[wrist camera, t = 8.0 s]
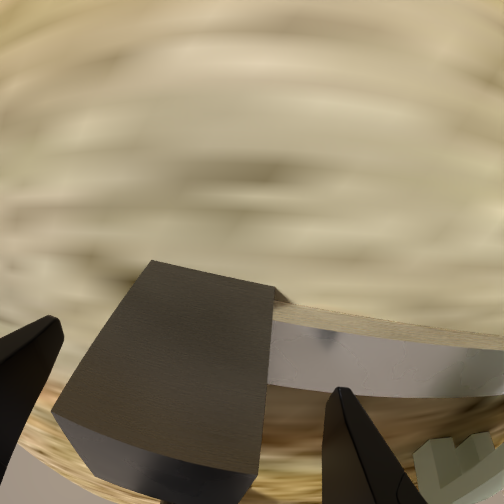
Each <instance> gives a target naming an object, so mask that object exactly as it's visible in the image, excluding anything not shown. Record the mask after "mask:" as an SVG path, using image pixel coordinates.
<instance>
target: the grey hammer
mask: <svg viewBox="0 0 504 504" xmlns="http://www.w3.org/2000/svg"><path fill="white" fill-rule="evenodd" d="M274 292H275V287H273V286H268V285H263V284H259V283H254V282H249V281H244V280H239V279H235V278H230V277H225V276H221V275H216V274H212V273H207V272H202V271H198V270H193V269H189V268H185V267H180V266H176V265H171V264H167V263H163V262H158V261H154V260H151V261H150V263H149V264H148V265H147V267H146V268H145V269H144V271H143V272H142V273H141V275H140V276H139V277H138V279H137V280H136V282H135V283H134V284H133V286H132V287H131V288H130V290H129V291H128V293H127V294H126V295H125V297H124V298H123V300H122V301H121V302H120V304H119V305H118V307H117V308H116V310H115V311H114V312H113V314H112V315H111V317H110V318H109V320H108V321H107V323H106V324H105V326H104V327H103V328H102V330H101V331H100V333H99V334H98V336H97V337H96V339H95V340H94V342H93V343H92V345H91V346H90V348H89V350H88V351H87V353H86V354H85V356H84V357H83V359H82V360H81V362H80V364H79V365H78V367H77V368H76V370H75V371H74V373H73V375H72V376H71V378H70V379H69V381H68V383H67V384H66V386H65V388H64V389H63V391H62V393H61V394H60V396H59V398H58V399H57V401H56V403H55V404H54V406H53V408H52V410H51V413H52V414H53V416H54V418H55V419H56V421H57V423H58V424H59V426H60V428H61V429H62V431H63V432H64V434H65V435H66V437H67V438H68V440H69V441H70V443H71V444H72V446H73V447H74V449H75V450H76V452H77V453H78V454H79V456H80V457H81V459H82V460H83V461H84V463H85V464H86V465H87V467H88V468H89V469H90V471H91V472H92V473H93V475H94V476H95V477H98V478H100V479H102V480H105V481H107V482H110V483H112V484H115V485H118V486H120V487H123V488H126V489H129V490H132V491H135V492H137V493H141V494H144V495H147V496H150V497H153V498H157V499H160V500H164V501H167V502H171V503H175V504H238V503H239V502H240V500H241V499H242V497H243V496H244V494H245V493H246V492H247V490H248V489H249V487H250V486H251V484H252V483H253V481H254V480H255V478H256V477H257V475H258V468H259V459H260V450H261V441H262V431H263V421H264V411H265V400H266V390H267V384H272V385H278V386H284V387H291V388H298V389H305V390H313V391H321V392H330V393H333V391H334V389H335V388H336V387H338V386H340V387H348V388H350V389H351V390H352V392H353V393H354V395H363V396H378V397H399V398H460V397H480V396H494V395H504V336H499V335H490V334H481V333H473V332H465V331H457V330H449V329H442V328H435V327H428V326H421V325H414V324H407V323H401V322H394V321H388V320H382V319H375V318H369V317H363V316H357V315H352V314H346V313H340V312H335V311H329V310H323V309H318V308H313V307H307V306H302V305H297V304H292V303H286V302H281V301H276V300H274Z"/></svg>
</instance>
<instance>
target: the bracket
mask: <svg viewBox="0 0 504 504" xmlns="http://www.w3.org/2000/svg"><path fill="white" fill-rule="evenodd" d="M413 459H414V465H415V470H416V475H417V481H418V487H419V493H420V494H421V495H422V496H423V498H424V499H425V500H426V502H427V503H428V504H475V503H478V502H480V501H483V500H486V499H488V498H489V497H491V496H493V495H494V494H496V493H497V492H499V491H500V490H502V489H503V488H504V442H503V443H502V444H501V445H500V446H499V447H498V448H496V449H495V447H494V444H493V442H492V439H491V436H490V433H489V432H483V433H478V434H472V435H471V436H469V437H468V438H467V439H466V440H465V441H464V442H463V443H461V444H460V445H459V446H458V447H457V448H456V449H455V446H454V443H453V439H452V437H449V438H440V439H430V440H428V441H427V442H426V443H425V444H424V445H423V446H422V447H420V448H419V449H418V450H417V451H416V452H415V453H413Z"/></svg>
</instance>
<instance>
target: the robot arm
mask: <svg viewBox="0 0 504 504" xmlns="http://www.w3.org/2000/svg"><path fill="white" fill-rule="evenodd" d="M63 342H64V334H63V330H62V326H61V323H60V320H59V319H58V318H56V317H54V316H51V315H47V316H45V317H43V318H41V319H39V320H37V321H35V322H32V323H30V324H28V325H26V326H24V327H22V328H20V329H18V330H16V331H14V332H12V333H10V334H8V335H6V336H4V337H2V338H0V484H1V482H2V479H3V476H4V474H5V471H6V469H7V466H8V463H9V461H10V458H11V456H12V453H13V451H14V449H15V446H16V444H17V442H18V439H19V437H20V435H21V433H22V430H23V428H24V426H25V424H26V422H27V420H28V417H29V415H30V413H31V411H32V409H33V407H34V405H35V403H36V401H37V399H38V397H39V395H40V393H41V391H42V389H43V387H44V385H45V383H46V381H47V379H48V377H49V375H50V373H51V370H52V368H53V366H54V363H55V361H56V358H57V356H58V354H59V351H60V349H61V347H62V344H63ZM160 504H175V503H171V502H167V501H164V500H161V501H160ZM322 504H428V503H427V502H426V500H425V499H424V498H423V496H422V495H421V494H420V493H419V491H418V490H417V488H416V487H415V486H414V484H413V483H412V481H411V480H410V478H409V477H408V475H407V474H406V473H405V472H404V469H403V468H402V466H401V465H400V463H399V462H398V460H397V459H396V457H395V456H394V454H393V452H392V451H391V449H390V448H389V446H388V445H387V443H386V442H385V440H384V439H383V437H382V436H381V434H380V433H379V431H378V430H377V428H376V427H375V425H374V424H373V422H372V421H371V419H370V418H369V416H368V414H367V413H366V411H365V410H364V408H363V407H362V405H361V404H360V402H359V401H358V399H357V398H356V396H355V395H354V393H353V392H352V390H351V389H350V388H348V387H340V386H338V387H336V388H335V389H334V391H333V393H332V394H331V396H330V398H329V399H328V401H327V403H326V408H325V420H324V431H323V441H322Z"/></svg>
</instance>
